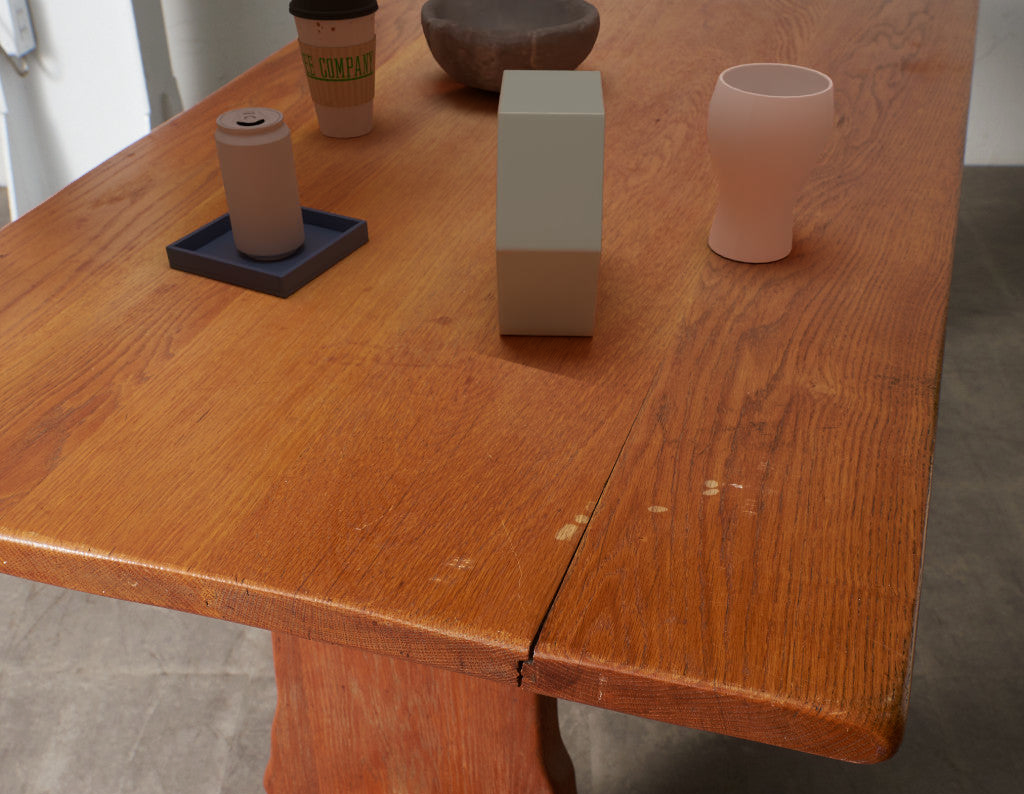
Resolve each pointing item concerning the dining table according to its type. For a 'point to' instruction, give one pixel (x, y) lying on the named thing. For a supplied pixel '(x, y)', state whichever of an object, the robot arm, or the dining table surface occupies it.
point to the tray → (221, 260)
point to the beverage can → (260, 182)
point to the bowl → (508, 37)
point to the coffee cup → (339, 62)
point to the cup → (764, 153)
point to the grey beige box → (549, 201)
